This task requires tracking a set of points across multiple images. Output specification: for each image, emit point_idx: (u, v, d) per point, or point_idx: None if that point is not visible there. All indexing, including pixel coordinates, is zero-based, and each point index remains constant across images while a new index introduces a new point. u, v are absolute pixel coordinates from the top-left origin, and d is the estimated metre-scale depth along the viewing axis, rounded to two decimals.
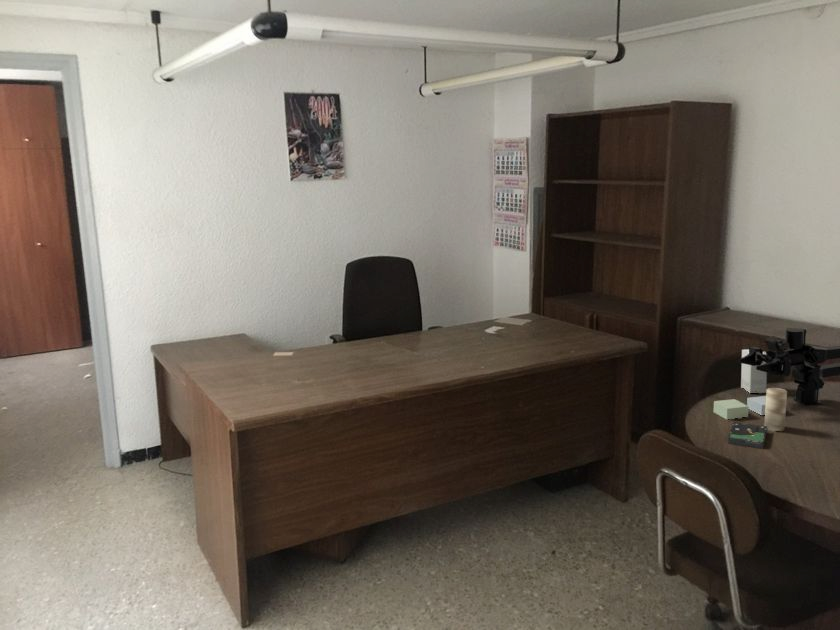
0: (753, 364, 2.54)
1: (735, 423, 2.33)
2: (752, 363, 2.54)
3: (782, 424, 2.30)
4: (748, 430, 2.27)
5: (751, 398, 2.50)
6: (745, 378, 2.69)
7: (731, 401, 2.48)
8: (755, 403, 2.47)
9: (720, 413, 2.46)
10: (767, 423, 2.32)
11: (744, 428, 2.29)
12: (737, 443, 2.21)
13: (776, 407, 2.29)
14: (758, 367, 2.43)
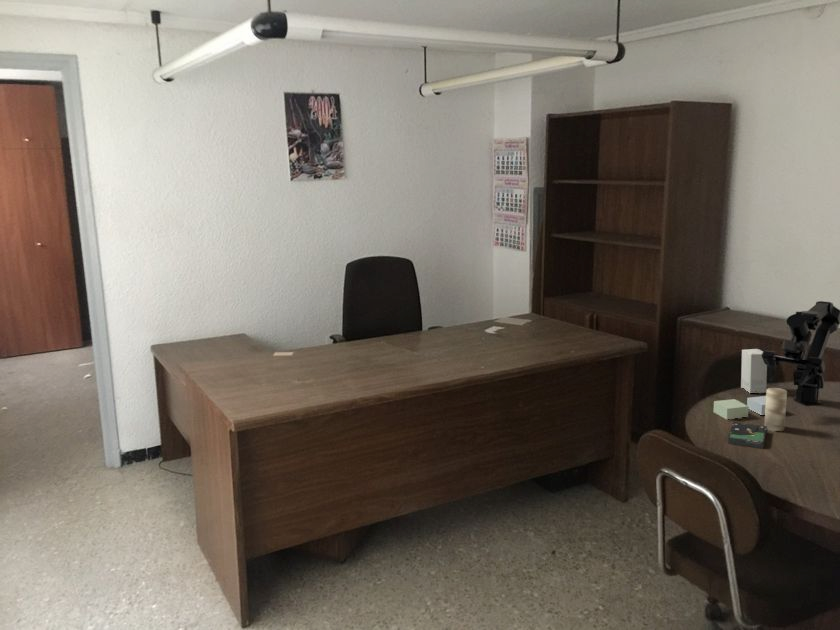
0: (776, 368, 2.43)
1: (735, 423, 2.33)
2: (775, 368, 2.43)
3: (782, 424, 2.30)
4: (748, 430, 2.27)
5: (751, 398, 2.50)
6: (745, 378, 2.69)
7: (731, 401, 2.48)
8: (755, 403, 2.47)
9: (720, 413, 2.46)
10: (767, 423, 2.32)
11: (744, 428, 2.29)
12: (737, 443, 2.21)
13: (776, 407, 2.29)
14: (801, 383, 2.33)
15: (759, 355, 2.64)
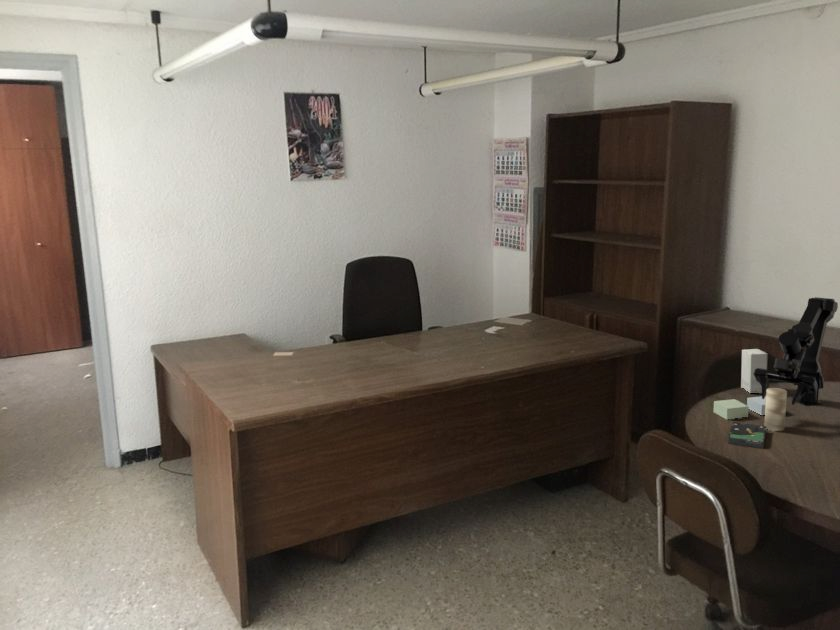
0: (768, 386, 2.39)
1: (734, 423, 2.33)
2: (768, 386, 2.39)
3: (782, 424, 2.30)
4: (748, 430, 2.27)
5: (751, 398, 2.50)
6: (745, 378, 2.69)
7: (731, 401, 2.48)
8: (755, 403, 2.47)
9: (720, 413, 2.46)
10: (767, 423, 2.32)
11: (744, 428, 2.29)
12: (737, 443, 2.21)
13: (776, 407, 2.29)
14: (793, 402, 2.29)
15: (759, 355, 2.64)
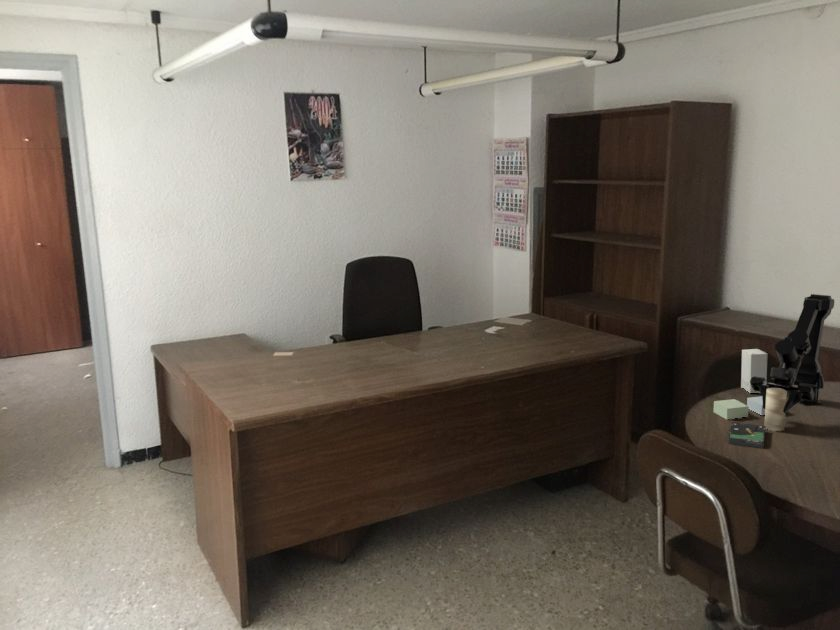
0: None
1: (733, 423, 2.33)
2: None
3: (782, 424, 2.30)
4: (747, 430, 2.27)
5: (751, 398, 2.50)
6: (745, 378, 2.69)
7: (731, 401, 2.48)
8: (755, 403, 2.47)
9: (720, 413, 2.46)
10: (767, 423, 2.32)
11: (743, 428, 2.29)
12: (737, 443, 2.21)
13: (776, 407, 2.29)
14: (785, 410, 2.29)
15: (759, 355, 2.64)
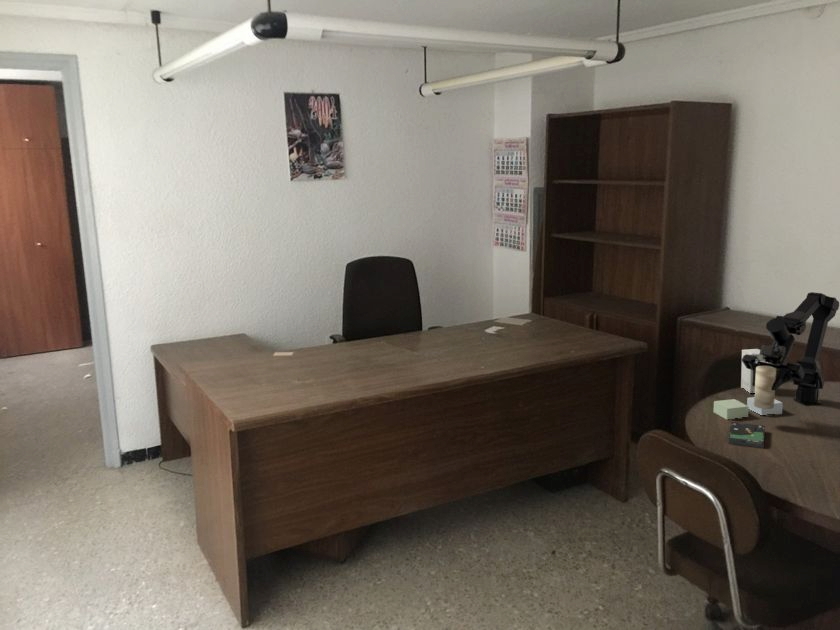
0: None
1: (733, 423, 2.33)
2: None
3: (771, 402, 2.31)
4: (747, 430, 2.27)
5: (751, 398, 2.50)
6: (745, 378, 2.69)
7: (731, 401, 2.48)
8: None
9: (720, 413, 2.46)
10: (756, 401, 2.34)
11: (743, 428, 2.29)
12: (737, 443, 2.21)
13: (764, 384, 2.30)
14: (774, 388, 2.30)
15: (759, 355, 2.64)
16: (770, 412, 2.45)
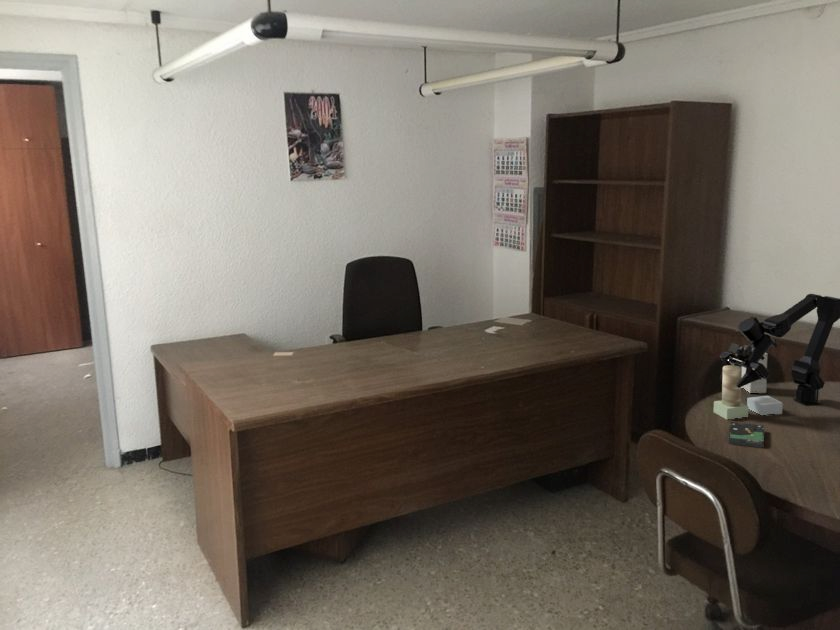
0: None
1: (732, 423, 2.34)
2: None
3: (734, 400, 2.43)
4: (746, 430, 2.27)
5: (751, 398, 2.50)
6: None
7: None
8: (755, 403, 2.47)
9: (720, 413, 2.46)
10: (722, 398, 2.46)
11: (742, 428, 2.29)
12: (737, 443, 2.21)
13: (727, 383, 2.42)
14: (738, 385, 2.40)
15: None
16: (770, 412, 2.45)
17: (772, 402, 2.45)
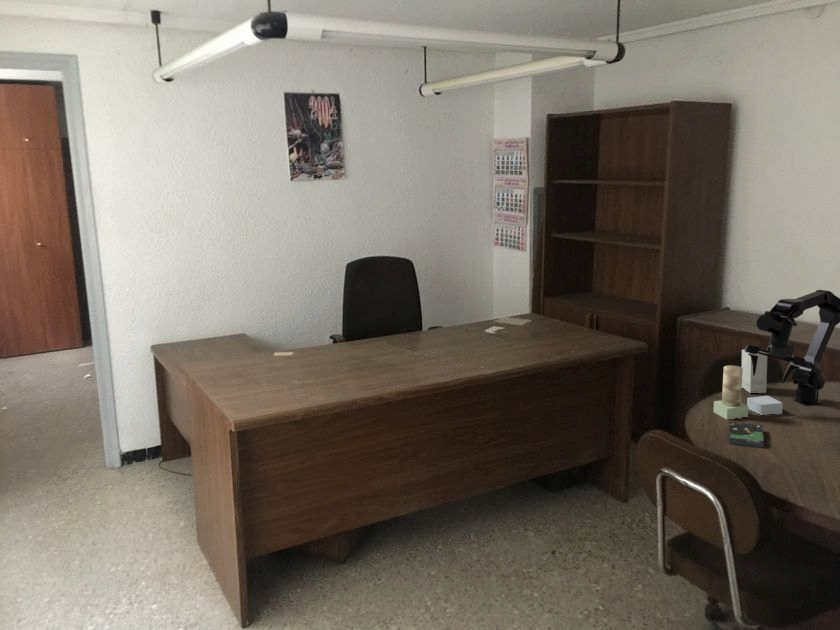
0: None
1: (731, 423, 2.34)
2: None
3: (734, 400, 2.43)
4: (746, 430, 2.27)
5: (751, 398, 2.50)
6: (745, 378, 2.69)
7: None
8: (755, 403, 2.47)
9: (720, 413, 2.46)
10: (722, 398, 2.46)
11: (742, 428, 2.29)
12: (737, 443, 2.21)
13: (728, 383, 2.42)
14: (783, 382, 2.42)
15: (759, 355, 2.64)
16: (770, 412, 2.45)
17: (772, 402, 2.45)
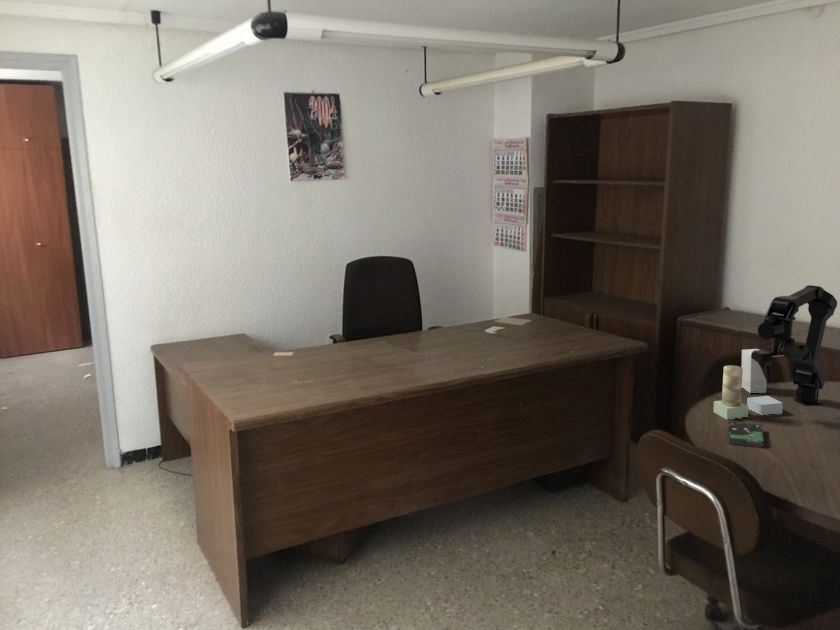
0: None
1: (730, 423, 2.34)
2: None
3: (734, 400, 2.43)
4: (745, 430, 2.27)
5: (751, 398, 2.50)
6: (745, 378, 2.69)
7: None
8: (755, 403, 2.47)
9: (720, 413, 2.46)
10: (722, 398, 2.46)
11: (741, 428, 2.29)
12: (738, 443, 2.21)
13: (728, 383, 2.42)
14: None
15: None
16: (770, 412, 2.45)
17: (772, 402, 2.45)
